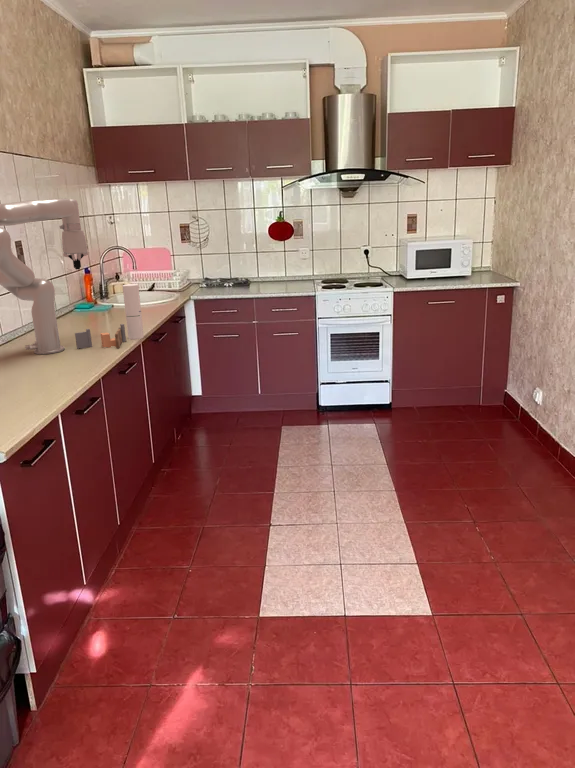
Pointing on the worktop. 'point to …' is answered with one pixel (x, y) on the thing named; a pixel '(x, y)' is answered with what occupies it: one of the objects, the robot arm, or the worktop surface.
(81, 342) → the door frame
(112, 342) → the orange l-shaped block
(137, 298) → the cylindrical container
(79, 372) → the worktop surface
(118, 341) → the door
